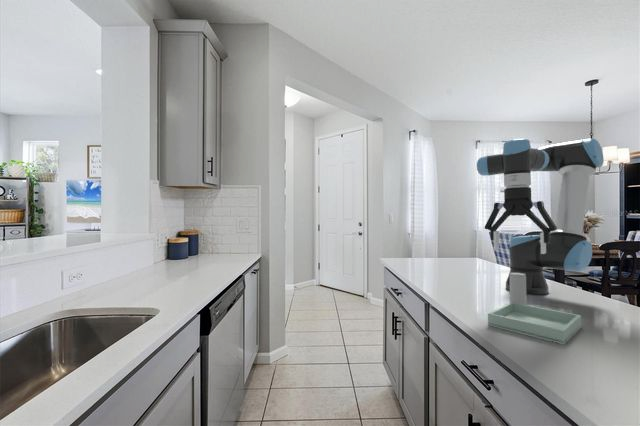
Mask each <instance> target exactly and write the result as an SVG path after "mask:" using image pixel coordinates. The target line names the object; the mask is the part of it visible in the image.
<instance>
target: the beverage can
mask: <svg viewBox="0 0 640 426" xmlns="http://www.w3.org/2000/svg"><path fill="white" fill-rule="evenodd" d="M509 273H510V272H509ZM525 275H526V274H524V273H510V290H509V303H510V302H514V303H519V304H524V305H527V294H526V276H525Z"/></svg>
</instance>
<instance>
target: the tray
mask: <svg viewBox="0 0 640 426" xmlns="http://www.w3.org/2000/svg"><path fill="white" fill-rule="evenodd" d="M487 325H488V326H490V327H494V328H497V329H501V330H506V331H510V332H514V333H518V334H521V335H526V336H528V337H529V336H530V337H532V338H536V339H541V340H545V341H549V342H552V341H553V342H552V343H556V342H557V344H560V345H565V344H566V343H567V342H569V341H570V339H571V338H572V337H573V336H574V335H575V334H576V333H578V331H579V330H580V329H581V328H582V315H580V314H575V313H571V312H565V311H560V310H554V309H550V308H544V307H539V306H536V305H535V306H534V305H533V306H532V305H528V304H526V305H524V304H519V303H514V302H510V301H509V302H508V303H506V304H504V305H502V306H500V307H499V308H498V307H497V308H496V309H494V310H492V311H490V312H489V313H487Z"/></svg>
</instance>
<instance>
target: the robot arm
mask: <svg viewBox="0 0 640 426" xmlns="http://www.w3.org/2000/svg"><path fill="white" fill-rule="evenodd" d="M530 141H531V140H529V138H528V139H527V138H516V139H511V140H506V141H505V142H504V143H503V147H502V149H503V150H502V153H496V154H490V155H485V156H481V157H479V158H478V160H477V162H476V170H477V173H478V174H479V175H480V176H482V177H483V176H484V177H485V176H488V177H489V176H496V175H503V186H504V187H505V188H504V190H503V192H504V193H503V195H504V196H503V197H504V198H503V200H504V202H503V203H502V202H501V203H500V202H494V203H493V209H492V210H491V214H490V216H489V217H488V218H487V219H488V220H487V221H486V223H485V226H484V229H485V230H488V231H490V240H491V241H493V251H499V250H500V231H499V230H498V229H499V228H500V227H501V225H502V224H503V223H504V222H505V221H506V220H508V218H509V217H510V216H511V217H513V216H522V217H523V216H526V217H528V218H529V219H530V220H531V221H532V222H533V223H534V224H535V225H536V226H537V227H538V228H539V229H540V230H541V231H542V232H540V233H539V234H534V235H532V234H531V235H520V236H513V237H511V238H510V239H509V247H508V248H509V270H510V271H509V273H508V276H507V278H506V282H505V289H506V290H508V291H510V273H524V274H526V275H525V276H526V295H528V294H529V295H546V294H547V295H548V293H549V284H548V282H547V279H546V277H545V275H544V268H545V269H553V270H562V271H566V272H582V271H585V270H586V269H587V268H588V267H589V265H590V263H591V261H592V257H593V245H592V243H591V242H590V241H588V237H587V236H586V235H585V234H584V233H583V230H584V225H585V224H584V223H585V217H586V216H585V215H586V207H587V199H588V193H589V185H590V177H591V176H593V175H595V174H596V170H597V169H596V168H600V167H602V166H603V165H604V160H605V159H604V151H603V149H602V146H601V143H600V142H599V141H598V139H596V138H585V139H583V138H581V139H580V140H573V141H572V140H571V141H566V142H561V143H555V144H549V145H546V146H542V147H539V148H532V146H531V142H530ZM532 172H558V173H559V174H560V175H561V176H562V177H561V184H560V192H559V197H558V203H557V212H556V219H555V222H554V220H553V219H552V218H551V216H550V214H549V212H548V211H547V210H546V207H545V202H544V201H543V200H539V201H534V202H533V201H532V187H530V186H531V185H532V176H531V175H532V174H531V173H532ZM533 207H534V208H535V209H537V210H538V213H540V215H541V217H542V219H543V221H544V222H545V223H544V222H543V221H541V219H540V218H539V217H538V216H536V214H535V213H534V212H533V211H532V208H533ZM502 208H504V209H505V211H504V212H503V213H502V215H501V216H500V217H499V218H498V219H497V220H496V218H497V217H498V215H499V212H500V211H501V209H502ZM494 222H495V223H494Z"/></svg>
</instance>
